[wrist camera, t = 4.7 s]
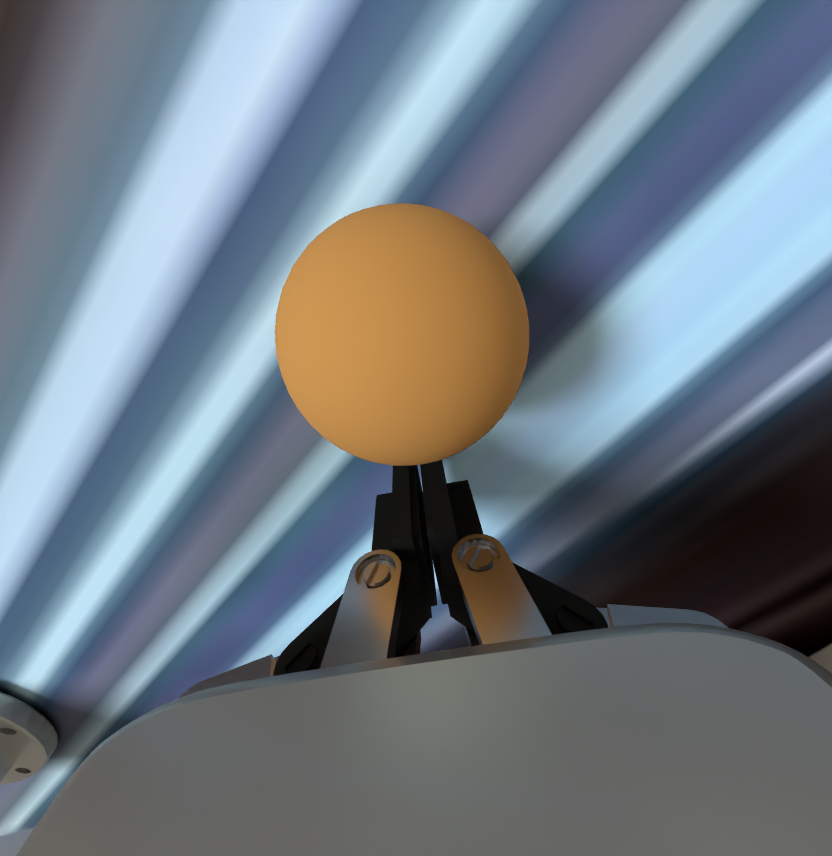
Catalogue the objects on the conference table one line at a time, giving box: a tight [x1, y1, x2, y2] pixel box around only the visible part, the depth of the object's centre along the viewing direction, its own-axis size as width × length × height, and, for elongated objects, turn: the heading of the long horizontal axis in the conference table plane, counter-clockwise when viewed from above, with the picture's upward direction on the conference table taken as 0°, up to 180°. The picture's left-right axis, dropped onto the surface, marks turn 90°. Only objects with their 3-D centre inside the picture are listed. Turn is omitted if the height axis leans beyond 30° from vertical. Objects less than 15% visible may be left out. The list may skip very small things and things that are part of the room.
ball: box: [275, 204, 529, 466], centre depth 9 cm, size 6×6×6 cm
